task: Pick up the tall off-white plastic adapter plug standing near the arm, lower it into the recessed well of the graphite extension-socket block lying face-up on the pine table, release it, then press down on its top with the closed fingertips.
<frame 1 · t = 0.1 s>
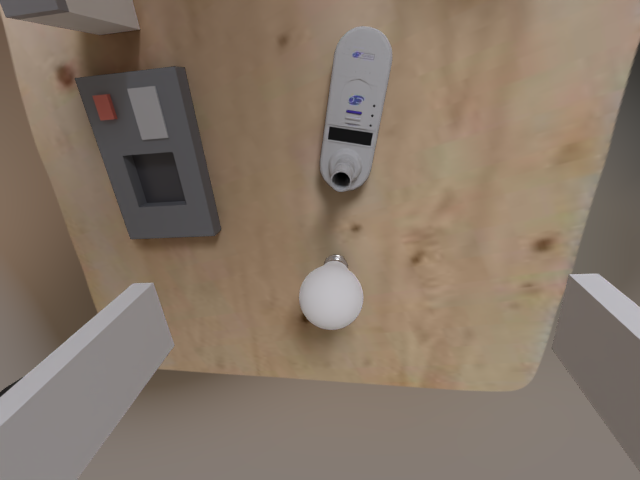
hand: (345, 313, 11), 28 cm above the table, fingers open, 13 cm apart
light bulb: (336, 261, 42), on the table
electronic device: (354, 114, 35), on the table
plug: (112, 5, 33), on the table
socket block: (159, 159, 39), on the table
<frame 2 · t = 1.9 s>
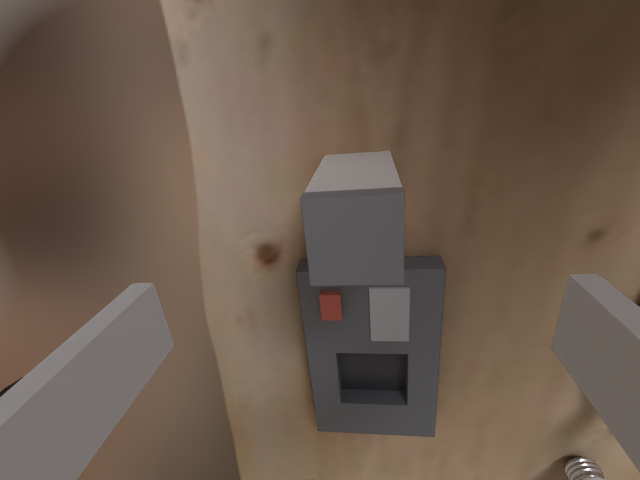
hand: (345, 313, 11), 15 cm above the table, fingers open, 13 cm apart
light bulb: (574, 457, 34), on the table
plug: (358, 184, 25), on the table
socket block: (371, 346, 31), on the table
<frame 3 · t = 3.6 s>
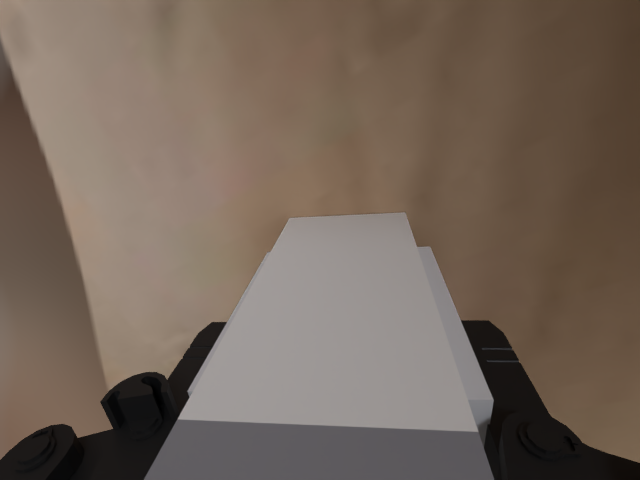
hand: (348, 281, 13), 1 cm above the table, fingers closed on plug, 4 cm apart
plug: (349, 266, 14), on the table, touching gripper
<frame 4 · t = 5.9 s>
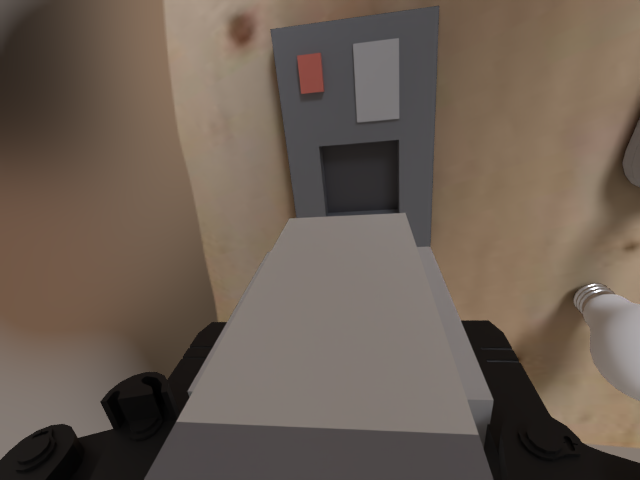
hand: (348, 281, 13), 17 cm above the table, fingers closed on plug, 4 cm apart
light bulb: (584, 290, 31), on the table
plug: (349, 266, 14), point 16 cm above the table, touching gripper
socket block: (359, 151, 28), on the table
when the fingers open (3 cm above the table, at t = 8.0 s): plug drops 1 cm, resting on socket block.
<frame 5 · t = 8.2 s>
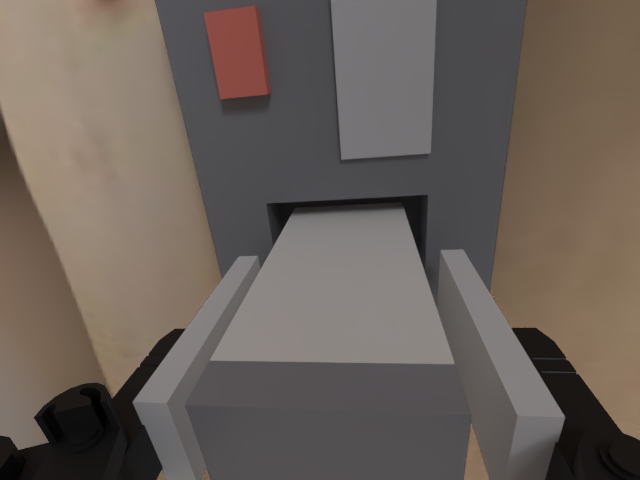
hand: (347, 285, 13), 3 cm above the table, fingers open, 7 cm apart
plug: (350, 252, 15), resting on socket block
socket block: (348, 207, 15), on the table
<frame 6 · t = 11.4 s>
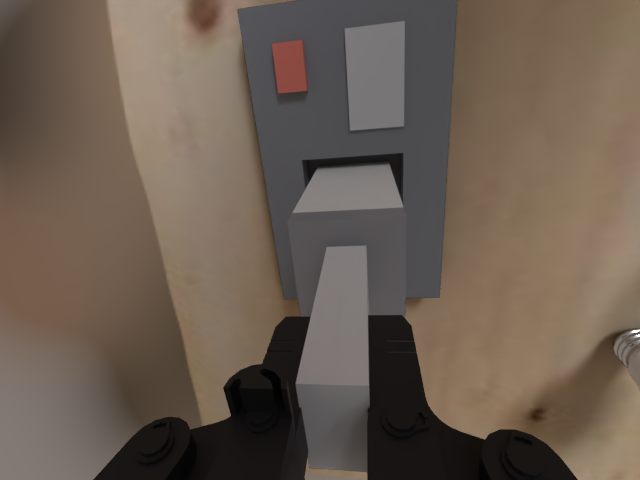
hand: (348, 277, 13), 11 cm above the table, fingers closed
light bulb: (625, 334, 25), on the table
plug: (354, 197, 23), resting on socket block
socket block: (353, 166, 22), on the table
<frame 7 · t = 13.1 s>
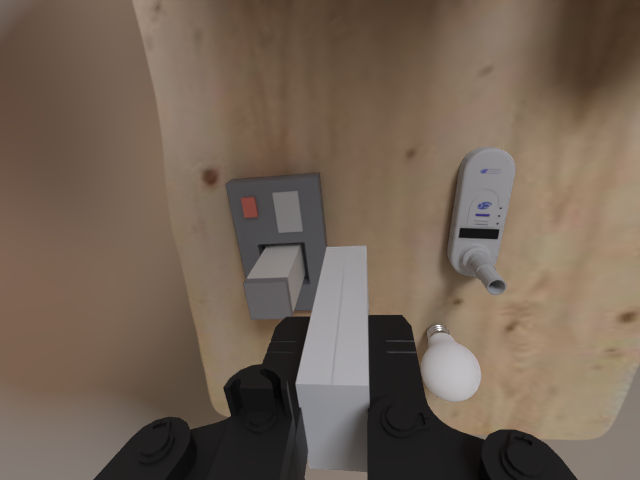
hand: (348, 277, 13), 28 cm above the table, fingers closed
light bulb: (436, 328, 47), on the table
electronic device: (474, 210, 40), on the table
plug: (286, 259, 45), resting on socket block
socket block: (285, 244, 44), on the table
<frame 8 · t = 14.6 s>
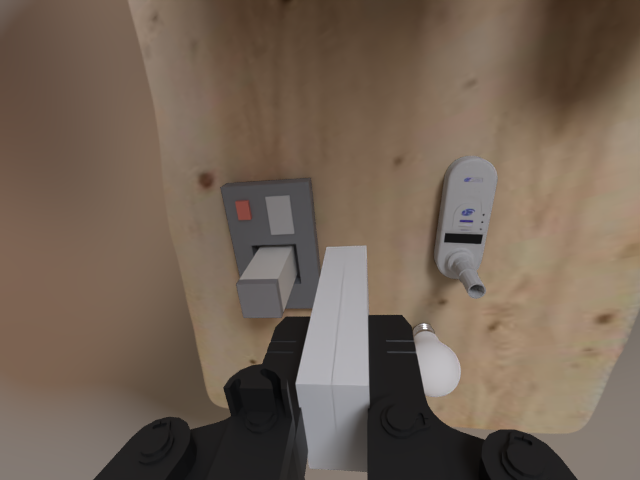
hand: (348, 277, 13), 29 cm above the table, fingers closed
light bulb: (422, 326, 49), on the table
electronic device: (459, 215, 42), on the table
plug: (279, 259, 47), resting on socket block
socket block: (278, 245, 46), on the table
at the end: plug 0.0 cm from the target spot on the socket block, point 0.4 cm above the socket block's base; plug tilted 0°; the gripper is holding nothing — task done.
